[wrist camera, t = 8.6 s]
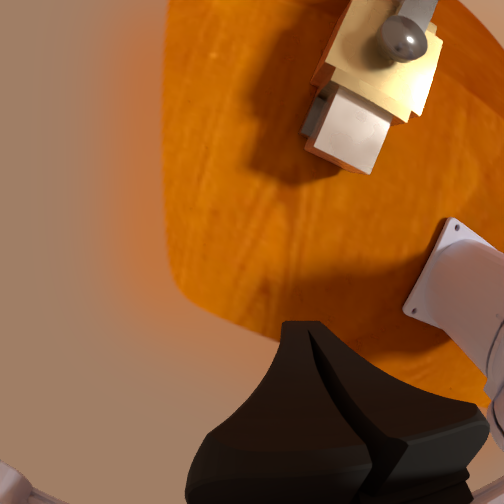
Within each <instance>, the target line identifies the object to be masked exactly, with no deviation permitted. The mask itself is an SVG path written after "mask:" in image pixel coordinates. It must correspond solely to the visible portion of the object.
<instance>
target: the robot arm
mask: <svg viewBox="0 0 504 504" xmlns="http://www.w3.org/2000/svg"><path fill="white" fill-rule="evenodd" d="M456 225H457V228H456V229H455V226H456ZM414 308H415V310H414V311H413V312H412V310H413V309H414ZM403 312H404V313H405V314H406V315H408V316H410V317H413V318H415V319H418V320H420V321H423V322H425V323H428V324H430V325H433V326H435V327H438V328H440V329H443V330H444V331H445V332H446V333H447V334H448V335H449V336H450V337H451V339H452V340H453V341H454V342H455V343H456V344H457V345H458V346H459V347H460V348H461V349H462V350H463V351H464V352H465V354H466V355H467V356H468V357H469V358H470V359H471V360H472V361H473V362H474V363H475V365H476V366H477V367H478V368H479V369H480V370H481V371H482V372H483V374H484V375H485V376H486V377H487V378H488V379H487V382H486V385H485V387H484V389H483V390H484V391H485V393H486V394H487V395H488V396H489V398H490V399H491V400H492V401H491V403H490V404H489V406H488V409H487V420H486V418H485V417H484V415H483V414H482V413H481V411H480V410H479V408H478V407H477V405H476V404H474V403H469V402H464V401H459V400H454V399H450V398H446V397H442V396H439V395H436V394H433V393H429V392H426V391H424V390H421V389H419V388H416V387H414V386H411V385H409V384H407V383H405V382H403V381H400V380H398V379H396V378H394V377H392V376H391V375H389V374H387V373H385V372H384V371H382V370H380V369H379V368H377V367H375V366H374V365H372V364H371V363H369V362H368V361H367V360H365V359H364V358H362V357H361V356H360V355H358V354H357V353H356V352H355V351H353V350H352V349H351V348H350V347H348V346H347V345H346V344H345V343H344V342H342V341H341V340H340V339H339V338H338V337H337V336H336V335H335V334H333V333H332V332H331V331H330V330H329V329H328V328H327V327H326V326H325V325H324V324H322V323H321V322H320V321H284V322H283V323H282V328H281V339H280V345H279V348H278V351H277V353H276V355H275V358H274V360H273V362H272V364H271V366H270V368H269V370H268V371H267V373H266V375H265V376H264V378H263V379H262V381H261V382H260V384H259V385H258V387H257V388H256V389H255V390H254V392H253V393H252V394H251V396H250V397H249V398H248V399H247V400H246V401H245V402H244V403H243V404H242V405H241V406H240V407H239V408H238V409H237V410H236V411H235V412H234V413H233V414H232V415H231V416H230V417H229V418H228V419H226V420H225V421H224V422H223V423H221V424H220V425H219V426H217V427H216V428H215V429H213V430H212V431H211V432H209V433H208V434H207V435H206V437H205V439H204V440H203V442H202V444H201V446H200V448H199V449H198V452H197V453H196V455H195V457H194V459H193V462H192V464H191V467H190V470H189V473H188V477H187V483H186V488H185V499H186V502H187V504H504V476H502V477H501V478H499V479H497V480H495V481H493V482H492V483H490V484H488V485H486V486H484V487H482V488H480V489H478V490H476V491H474V492H472V493H471V491H470V489H469V488H468V485H467V483H466V480H467V479H468V478H469V476H470V474H469V472H468V470H467V468H466V467H467V465H468V464H469V463H470V462H471V460H472V459H473V458H474V457H475V455H476V454H477V453H478V451H479V450H480V449H481V448H482V446H483V445H484V443H485V442H486V440H487V438H488V435H489V432H490V433H491V435H492V437H493V439H494V441H495V442H496V444H497V445H498V447H499V448H500V449H502V451H503V452H504V253H502V252H500V251H498V250H496V249H495V248H494V247H493V246H491V245H490V244H489V243H488V242H486V241H485V240H484V239H482V238H481V237H480V236H479V235H477V234H476V233H475V232H473V231H472V230H471V229H469V228H468V227H466V226H465V225H464V224H462V223H461V222H460V221H458V220H457V219H455V218H453V217H449V218H448V219H447V221H446V223H445V225H444V227H443V230H442V232H441V234H440V236H439V238H438V240H437V243H436V245H435V247H434V249H433V251H432V253H431V255H430V257H429V259H428V261H427V263H426V265H425V267H424V269H423V271H422V273H421V275H420V277H419V279H418V280H417V282H416V284H415V286H414V288H413V290H412V291H411V293H410V295H409V297H408V299H407V300H406V302H405V304H404V306H403ZM0 504H69V503H66V502H64V501H62V500H59V499H57V498H55V497H53V496H51V495H48V494H46V493H44V492H42V491H40V490H38V489H36V488H34V487H33V486H32V484H31V483H30V482H29V481H28V479H27V478H25V476H23V474H21V473H20V472H19V471H18V470H16V469H15V468H13V467H11V466H10V465H8V464H6V463H4V462H3V461H1V460H0Z"/></svg>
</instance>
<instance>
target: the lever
mask: <svg viewBox="0 0 504 504" xmlns="http://www.w3.org/2000/svg"><path fill="white" fill-rule="evenodd" d="M438 1H439V0H402V1H401V3H400V5H399V7H398V9H397V11H396V13H395V15H394V16H391V17H389V18H387V19H386V20H385V21H384V22H383V23H382V24H381V25H380V26H379V28H378V29H377V33H376V38H377V42H378V44H379V46H380V48H381V49H382V51H383V52H384V53H385V54H386V55H387V56H388V57H389V58H391V59H392V60H394V61H396V62H399V63H411V62H413V61H415V60H416V59H418V58H420V57H422V56H423V55H424V54H425V53H426V52H427V48H428V42H427V38H426V36H425V32H426V29H427V27H428V25H429V22H430V20H431V17H432V15H433V12H434V10H435V7H436V5H437V2H438Z"/></svg>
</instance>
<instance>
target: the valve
mask: <svg viewBox="0 0 504 504" xmlns="http://www.w3.org/2000/svg"><path fill="white" fill-rule="evenodd" d="M401 1H402V0H350V2H349V3H348V5H347V7H346V8H345V10H344V11H343V13H342V14H341V16H340V18H339V19H338V21H337V23H336V26H335V28H334V30H333V32H332V34H331V37H330V39H329V41H328V43H327V45H326V48H325V50H324V52H323V54H322V56H321V59H320V61H319V63H318V65H317V67H316V70H315V72H314V74H313V76H312V79H311V81H310V84H312V85H314V86H316V87H318V89H317V91H316V94H315V96H314V100H313V101H312V103H311V105H310V107H309V110H308V112H307V114H306V116H305V119H304V121H303V123H302V126H301V128H300V130H299V132H298V134H299V135H301V136H303V137H305V138H307V139H308V140H307V142H306V144H305V147H304V149H303V150H306V151H308V152H310V153H312V154H314V155H316V156H319V157H321V158H323V159H325V160H327V161H329V162H331V163H333V164H335V165H337V166H339V167H341V168H343V169H345V170H347V171H349V172H352V173H359V174H366V175H370V173H371V170H372V168H373V166H374V163H375V161H376V158H377V156H378V154H379V151H380V149H381V146H382V144H383V141H384V139H385V136H386V134H387V131H388V129H389V127H390V126H394V125H399V124H404V123H407V121H408V119H410V118H414V117H419V116H421V113H422V110H423V107H424V104H425V101H426V98H427V95H428V92H429V88H430V85H431V82H432V79H433V75H434V72H435V68H436V65H437V61H438V58H439V54H440V50H441V46H442V43H443V41H442V40H440V39H439V38H438V37H436V36H435V32H436V29H437V26H435V25H434V24H432V23H431V22H429V25H428V27H427V29H426V32H425V36H426V38H427V42H428V48H427V52H426V53H425V54H424V55H423V56H422V57H420V58H418V59H416V60H415V61H413V62H411V63H399V62H396V61H394V60H392V59H391V58H389V57H388V56H387V55H386V54H385V53H384V52H383V51H382V49H381V48H380V46H379V44H378V42H377V38H376V33H377V29H378V28H379V26H380V25H381V24H382V23H383V22H384V21H385V20H386V19H387V18H389V17H391V16H394V15H395V13H396V11H397V9H398V7H399V5H400V3H401Z"/></svg>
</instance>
